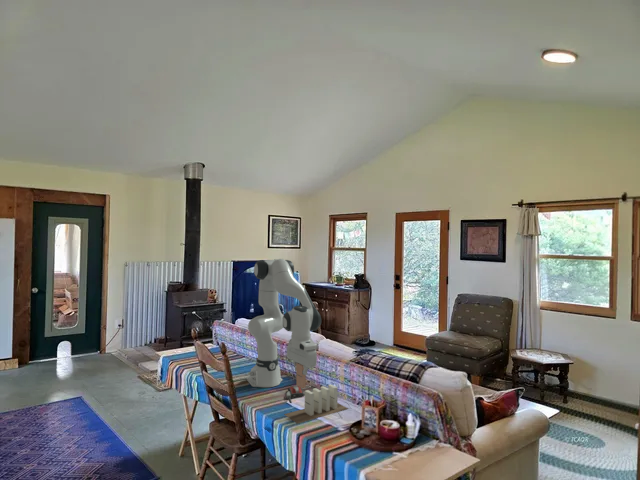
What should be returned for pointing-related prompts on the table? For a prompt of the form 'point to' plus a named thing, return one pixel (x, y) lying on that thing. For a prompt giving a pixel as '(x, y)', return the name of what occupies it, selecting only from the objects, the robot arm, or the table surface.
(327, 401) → the domino
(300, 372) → the domino
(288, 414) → the board
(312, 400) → the domino
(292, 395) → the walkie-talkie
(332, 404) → the domino
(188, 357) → the table surface
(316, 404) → the domino
